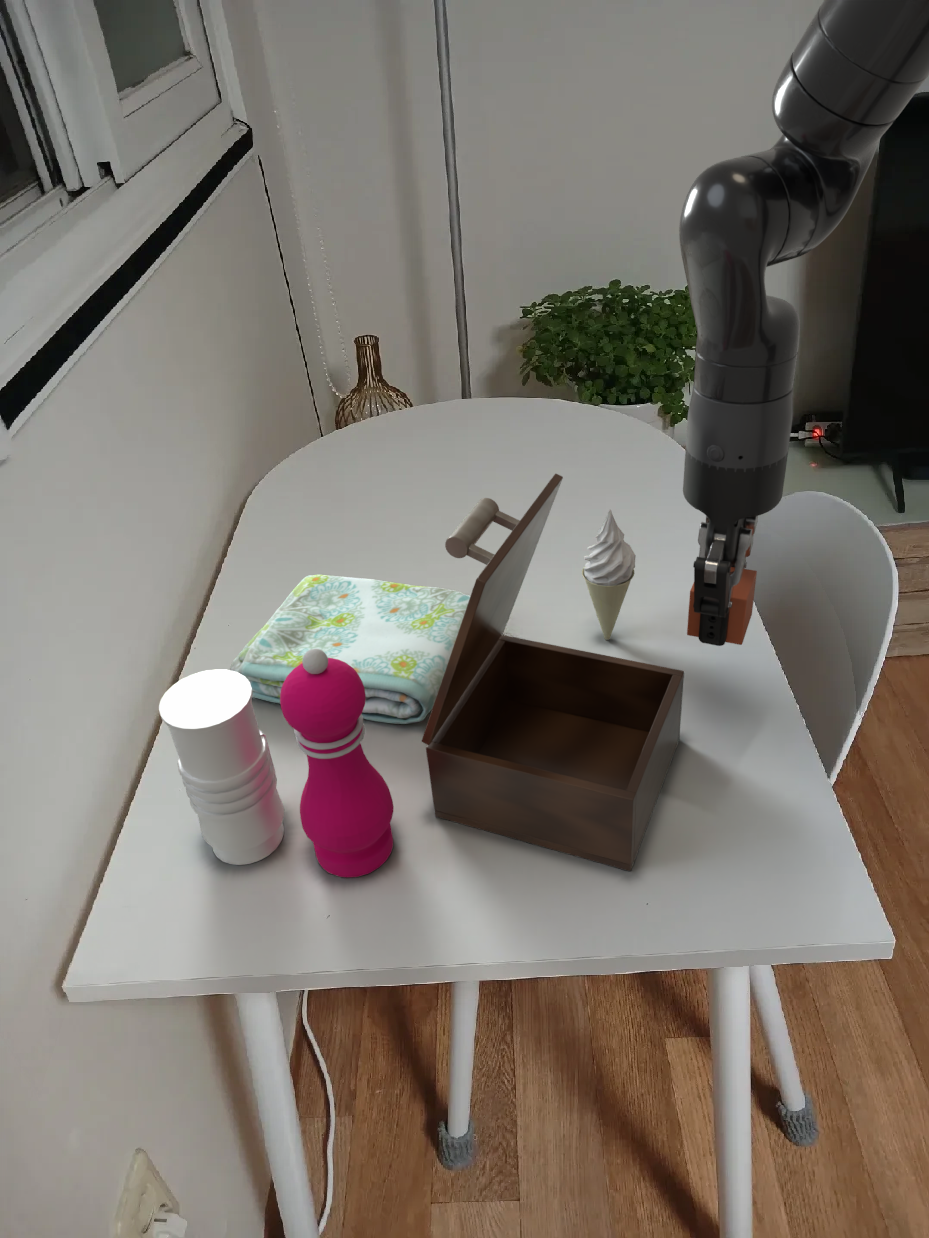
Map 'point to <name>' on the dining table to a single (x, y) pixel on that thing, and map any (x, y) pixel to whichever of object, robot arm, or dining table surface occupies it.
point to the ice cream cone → (609, 573)
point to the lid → (488, 591)
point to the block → (731, 609)
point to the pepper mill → (337, 767)
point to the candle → (225, 764)
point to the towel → (361, 641)
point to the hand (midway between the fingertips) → (718, 623)
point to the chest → (559, 749)
